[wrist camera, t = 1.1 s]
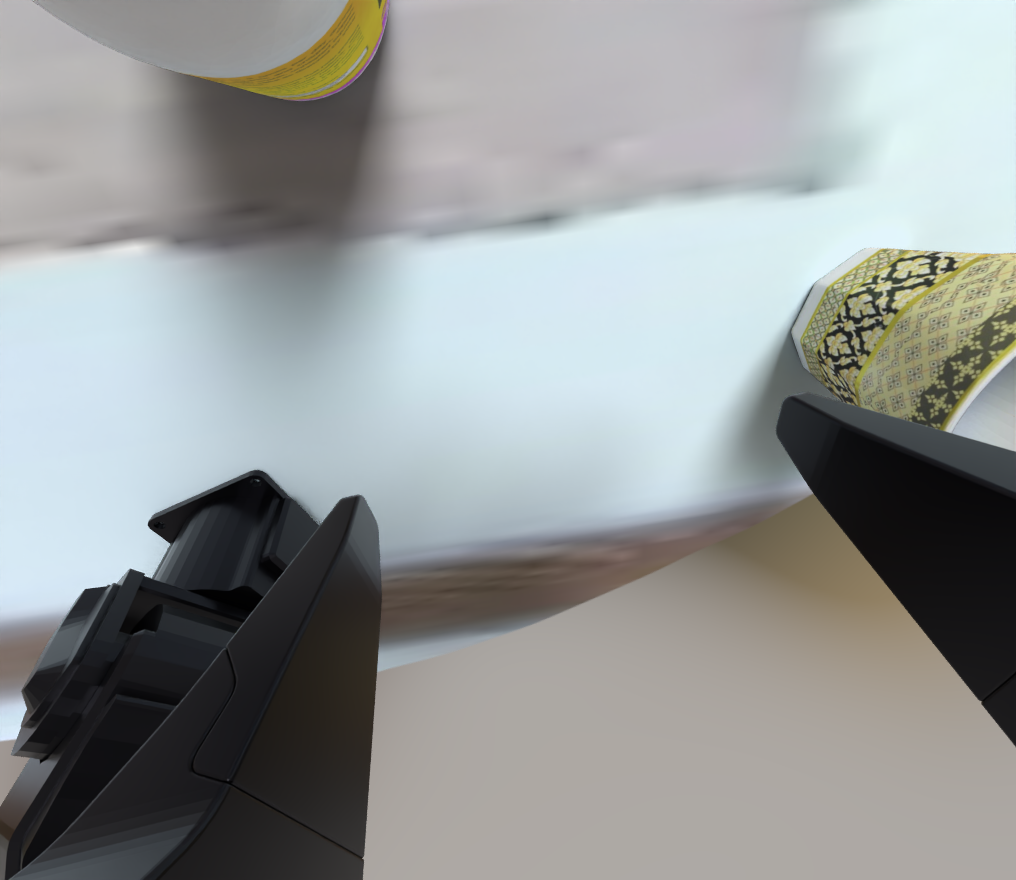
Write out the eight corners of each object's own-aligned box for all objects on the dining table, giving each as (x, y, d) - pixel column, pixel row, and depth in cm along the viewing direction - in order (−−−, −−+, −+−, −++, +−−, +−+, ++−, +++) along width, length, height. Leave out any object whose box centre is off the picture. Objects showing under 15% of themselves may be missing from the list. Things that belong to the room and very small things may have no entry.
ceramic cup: (821, 196, 20) (1093, 242, 12) (979, 221, 23) (1294, 274, 15) (712, 433, 28) (841, 560, 20) (841, 434, 30) (1004, 548, 22)
